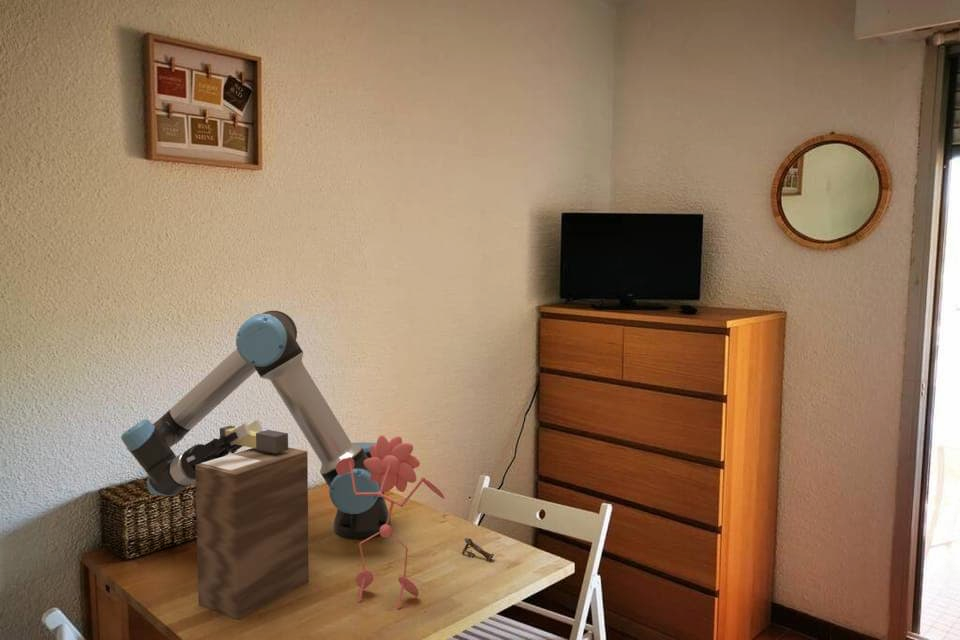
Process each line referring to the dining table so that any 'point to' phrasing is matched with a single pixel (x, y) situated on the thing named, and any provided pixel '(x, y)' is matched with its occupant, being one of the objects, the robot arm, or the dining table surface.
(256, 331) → the robot arm
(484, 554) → the wooden post with brackets
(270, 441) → the marker
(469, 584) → the dining table surface
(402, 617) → the dining table surface
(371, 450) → the figurine
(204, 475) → the tall wood-grain block
